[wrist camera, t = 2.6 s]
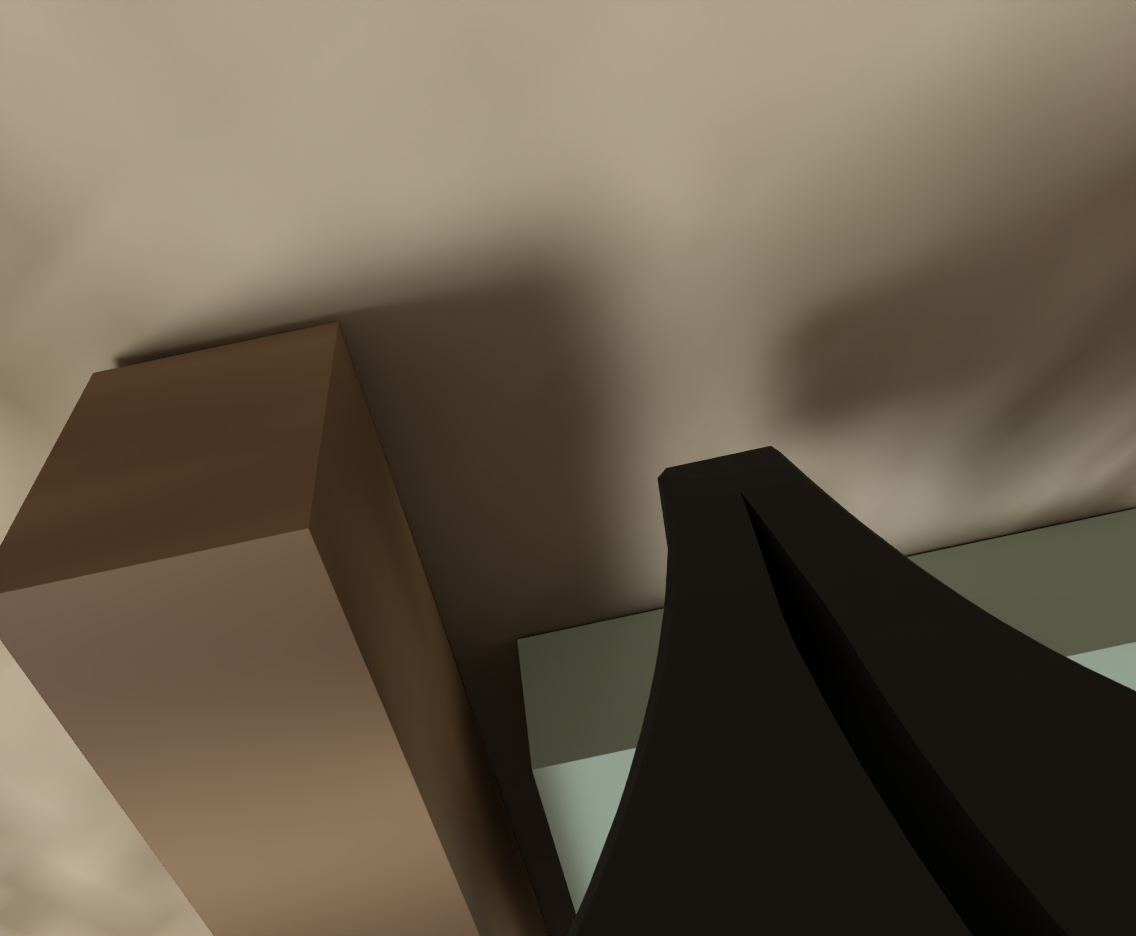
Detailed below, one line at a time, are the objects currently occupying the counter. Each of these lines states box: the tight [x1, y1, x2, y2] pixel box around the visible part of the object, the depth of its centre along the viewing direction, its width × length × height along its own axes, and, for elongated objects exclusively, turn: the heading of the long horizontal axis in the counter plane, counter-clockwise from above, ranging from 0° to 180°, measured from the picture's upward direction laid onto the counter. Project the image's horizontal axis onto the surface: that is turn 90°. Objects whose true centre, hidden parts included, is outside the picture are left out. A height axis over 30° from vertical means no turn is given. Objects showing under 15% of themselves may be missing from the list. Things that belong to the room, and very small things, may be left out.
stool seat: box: [517, 509, 1136, 914], centre depth 18 cm, size 10×10×2 cm
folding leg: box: [0, 321, 549, 936], centre depth 15 cm, size 17×3×4 cm, turn 10°
